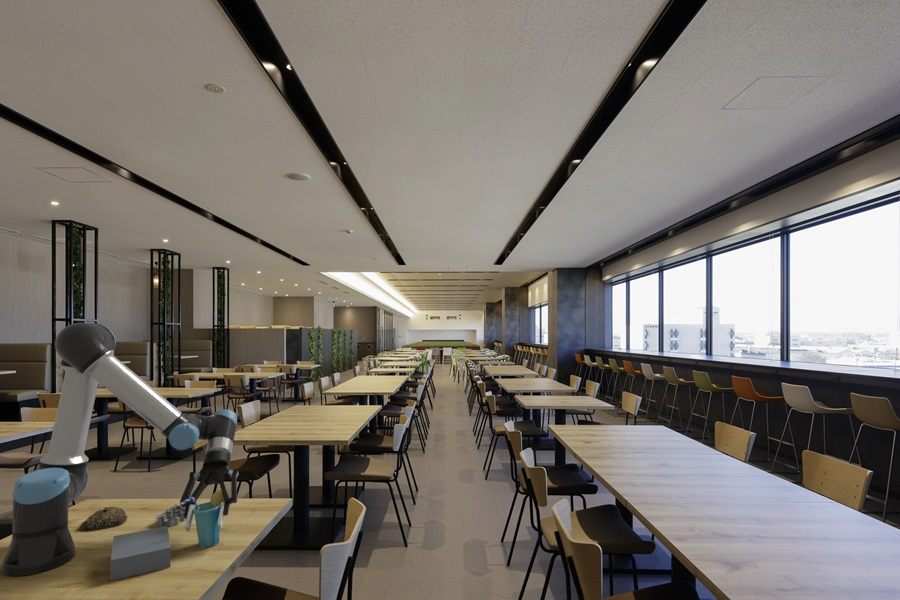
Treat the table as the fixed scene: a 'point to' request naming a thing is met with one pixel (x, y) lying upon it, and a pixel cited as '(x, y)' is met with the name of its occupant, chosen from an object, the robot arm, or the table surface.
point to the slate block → (140, 552)
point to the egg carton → (171, 516)
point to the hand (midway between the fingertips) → (203, 527)
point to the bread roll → (104, 519)
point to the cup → (207, 519)
